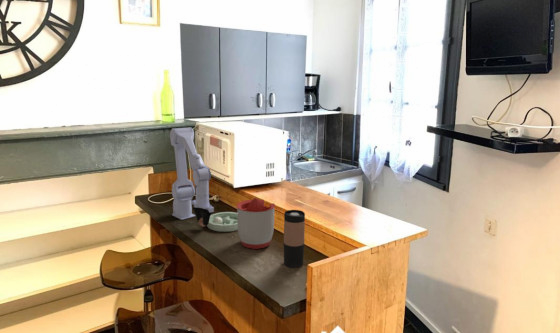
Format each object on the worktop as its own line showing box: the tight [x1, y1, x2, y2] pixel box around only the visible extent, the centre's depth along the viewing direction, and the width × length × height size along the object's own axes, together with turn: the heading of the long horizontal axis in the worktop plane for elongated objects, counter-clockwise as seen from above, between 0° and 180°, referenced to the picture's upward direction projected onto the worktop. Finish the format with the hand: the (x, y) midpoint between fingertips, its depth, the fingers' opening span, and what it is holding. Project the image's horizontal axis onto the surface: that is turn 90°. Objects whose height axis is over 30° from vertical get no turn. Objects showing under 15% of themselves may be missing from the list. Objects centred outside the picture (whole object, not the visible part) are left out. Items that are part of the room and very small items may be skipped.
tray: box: [206, 211, 238, 233], centre depth 190 cm, size 18×18×3 cm
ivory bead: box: [214, 217, 222, 224], centre depth 186 cm, size 4×4×4 cm
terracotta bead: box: [198, 218, 207, 228], centre depth 183 cm, size 4×4×4 cm
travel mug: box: [283, 209, 306, 269], centre depth 149 cm, size 8×8×20 cm
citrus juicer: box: [236, 197, 276, 250], centre depth 167 cm, size 16×17×20 cm
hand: (203, 223), depth 183 cm, fingers closed on terracotta bead, 4 cm apart
